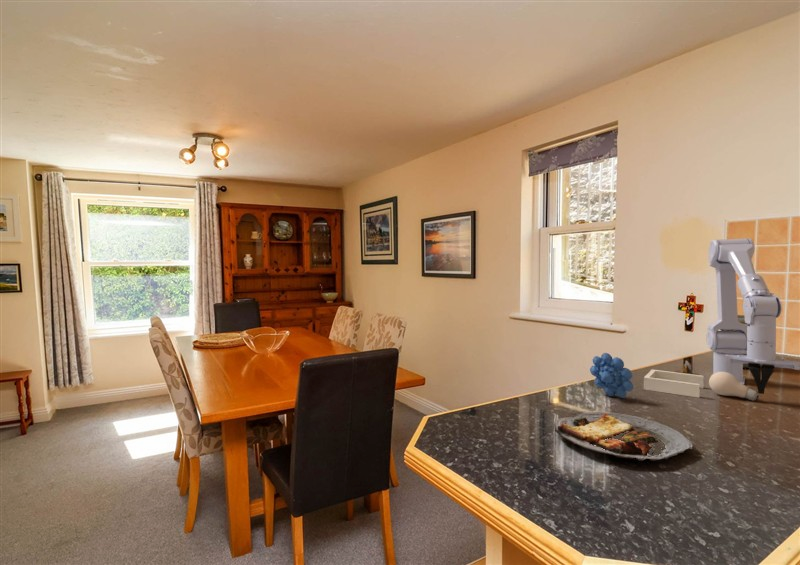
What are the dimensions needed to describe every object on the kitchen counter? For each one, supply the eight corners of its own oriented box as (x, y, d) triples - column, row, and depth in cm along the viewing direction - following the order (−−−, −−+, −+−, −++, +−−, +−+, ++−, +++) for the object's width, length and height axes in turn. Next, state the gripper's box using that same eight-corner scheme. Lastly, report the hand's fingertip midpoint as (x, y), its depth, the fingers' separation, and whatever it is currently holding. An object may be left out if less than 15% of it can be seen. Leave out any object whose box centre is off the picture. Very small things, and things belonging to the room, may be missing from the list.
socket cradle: (651, 380, 130) (651, 369, 130) (703, 387, 121) (703, 375, 121) (643, 389, 121) (643, 377, 121) (699, 397, 112) (699, 385, 112)
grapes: (583, 394, 116) (582, 352, 116) (594, 390, 121) (594, 349, 120) (626, 404, 107) (626, 359, 107) (637, 399, 112) (636, 355, 111)
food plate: (634, 479, 69) (634, 458, 69) (531, 433, 90) (531, 417, 90) (712, 451, 81) (713, 433, 81) (605, 416, 102) (605, 402, 102)
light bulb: (766, 382, 108) (717, 364, 117) (757, 391, 105) (708, 372, 113) (758, 403, 111) (711, 383, 119) (750, 412, 107) (702, 392, 116)
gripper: (725, 340, 110) (725, 391, 110) (800, 346, 100) (800, 401, 100) (726, 337, 115) (726, 385, 115) (798, 342, 105) (798, 395, 106)
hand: (760, 392), depth 108 cm, fingers closed
